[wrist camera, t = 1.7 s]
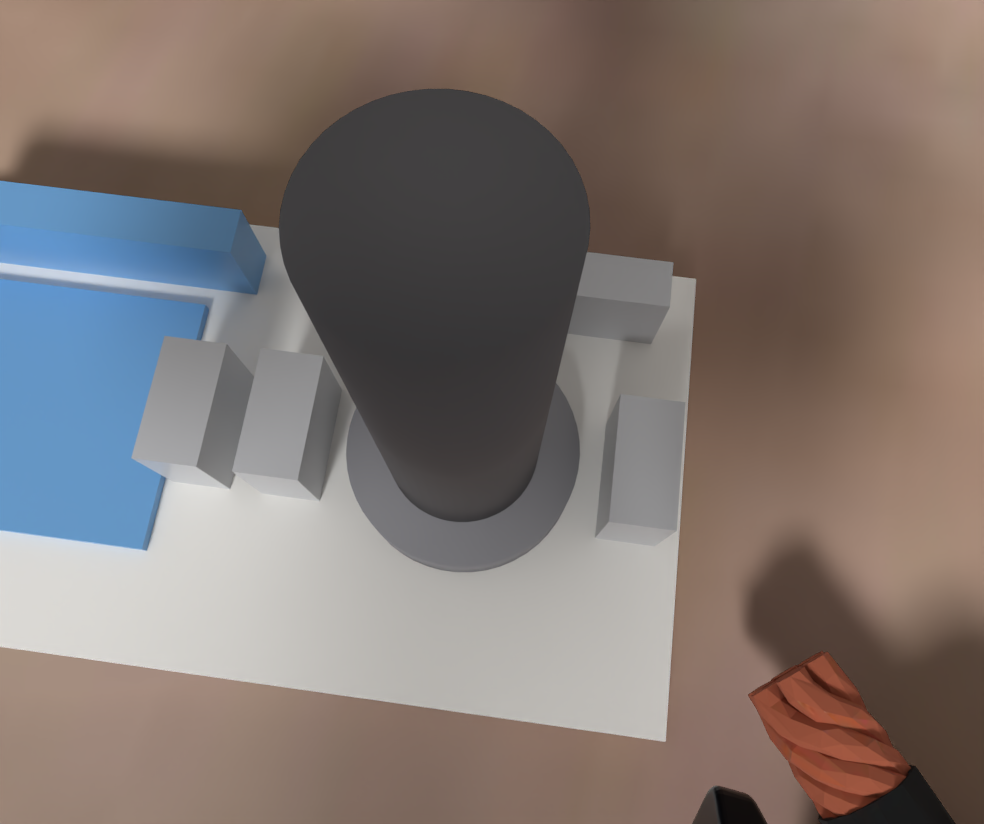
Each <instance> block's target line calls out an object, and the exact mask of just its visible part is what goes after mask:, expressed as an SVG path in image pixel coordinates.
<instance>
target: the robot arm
mask: <svg viewBox="0 0 984 824" xmlns="http://www.w3.org/2000/svg"><path fill="white" fill-rule="evenodd" d="M692 824H767V822H766V820H765V818H764V817H763V815H762V813H761V811H760V809H759V808H758V806H757V804H756V802H755V801H754V800H753V799H752V798H751V797H750V796H749V795H748V794H745V793H743V792H739V791H736V790H732V789H728V788H725V787H721V786H713V787H712V788H711V789H710V790H709V791H708V793H707V794H706V796H705V798H704V800H703V802H702V805H701V807H700V809H699V811H698V813H697V815H696V817H695V819H694V821H693V823H692Z"/></svg>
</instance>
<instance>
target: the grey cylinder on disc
mask: <svg viewBox="0 0 984 824" xmlns="http://www.w3.org/2000/svg"><path fill="white" fill-rule="evenodd" d="M589 235H590V210H589V205H588V200H587V194H586V191H585V188H584V185H583V182H582V179H581V176H580V174H579V172H578V170H577V168H576V166H575V164H574V162H573V160H572V159H571V157H570V156H569V155H568V153H567V152H566V150H565V149H564V147H563V146H562V145H561V144H560V142H559V141H558V140H557V139H556V138H555V137H554V136H553V135H552V134H551V133H550V132H549V131H548V130H547V129H546V128H545V127H543V126H542V125H541V124H540V123H539V122H537V121H536V120H535V119H533V118H532V117H530V116H529V115H527V114H526V113H524V112H523V111H521V110H519V109H517V108H515V107H513V106H511V105H509V104H507V103H505V102H503V101H500V100H497V99H494V98H491V97H489V96H486V95H482V94H477V93H473V92H469V91H461V90H453V89H423V90H413V91H407V92H402V93H398V94H393V95H389V96H386V97H383V98H380V99H377V100H374V101H372V102H370V103H368V104H365V105H363V106H361V107H359V108H357V109H355V110H353V111H352V112H350V113H348V114H347V115H345V116H344V117H342V118H340V119H339V120H338V121H336V122H335V123H334V124H333V125H331V126H330V127H329V128H328V129H326V130H325V131H324V132H323V133H322V134H321V135H320V136H319V137H318V138H317V139H316V140H315V141H314V142H313V143H312V144H311V146H310V147H309V148H308V150H307V151H306V152H305V154H304V155H303V156H302V158H301V159H300V161H299V162H298V164H297V166H296V168H295V169H294V171H293V173H292V175H291V177H290V180H289V182H288V185H287V187H286V190H285V193H284V197H283V201H282V205H281V209H280V220H279V238H280V248H281V253H282V258H283V263H284V266H285V268H286V271H287V274H288V276H289V279H290V282H291V283H292V285H293V287H294V289H295V291H296V293H297V295H298V297H299V299H300V301H301V303H302V304H303V306H304V308H305V310H306V312H307V314H308V316H309V318H310V320H311V322H312V324H313V325H314V327H315V329H316V331H317V333H318V335H319V337H320V339H321V341H322V343H323V344H324V346H325V348H326V350H327V352H328V354H329V356H330V358H331V360H332V362H333V364H334V365H335V367H336V369H337V371H338V373H339V375H340V377H341V379H342V381H343V383H344V385H345V386H346V388H347V390H348V392H349V394H350V396H351V398H352V400H353V402H354V404H355V406H356V409H355V411H354V414H353V417H352V420H351V423H350V426H349V431H348V437H347V447H346V460H347V471H348V475H349V480H350V484H351V487H352V490H353V492H354V495H355V498H356V500H357V502H358V504H359V505H360V507H361V509H362V511H363V513H364V514H365V515H366V517H367V518H368V520H369V521H370V522H371V524H372V525H373V526H374V527H375V528H376V530H377V531H378V532H379V533H380V534H381V535H382V536H383V537H384V538H385V539H386V540H387V541H388V543H389V544H390V545H392V546H393V547H394V548H396V549H397V550H398V551H399V552H401V553H402V554H404V555H405V556H407V557H409V558H410V559H412V560H414V561H416V562H418V563H421V564H423V565H425V566H428V567H432V568H435V569H439V570H443V571H451V572H477V571H484V570H489V569H493V568H496V567H500V566H502V565H505V564H507V563H510V562H512V561H514V560H516V559H518V558H519V557H521V556H523V555H524V554H526V553H528V552H529V551H530V550H531V549H533V548H534V547H535V546H537V545H538V544H539V543H540V542H541V541H542V540H543V539H544V538H545V537H546V536H547V535H548V534H549V532H550V531H551V530H552V528H553V527H554V526H555V524H556V523H557V521H558V519H559V518H560V516H561V514H562V512H563V510H564V508H565V506H566V504H567V502H568V500H569V498H570V496H571V493H572V490H573V488H574V485H575V482H576V478H577V474H578V469H579V459H580V442H579V435H578V429H577V424H576V421H575V418H574V414H573V411H572V409H571V407H570V405H569V403H568V401H567V398H566V397H565V395H564V394H563V392H562V391H561V389H560V387H559V386H558V385H557V383H556V380H557V376H558V372H559V367H560V363H561V359H562V355H563V351H564V346H565V342H566V338H567V334H568V330H569V325H570V321H571V317H572V313H573V309H574V304H575V300H576V296H577V292H578V288H579V283H580V279H581V275H582V271H583V267H584V262H585V258H586V254H587V250H588V244H589Z"/></svg>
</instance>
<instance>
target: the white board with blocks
mask: <svg viewBox="0 0 984 824" xmlns="http://www.w3.org/2000/svg"><path fill="white" fill-rule="evenodd" d="M672 275H673V262H666V261H658V260H650V259H641V258H633V257H625V256H617V255H608V254H600V253H592V252H587V254H586V258H585V262H584V267H583V271H582V275H581V279H580V283H579V288H578V292H577V296H576V300H575V304H574V309H573V313H572V317H571V321H570V325H569V330H568V334H567V338H566V342H565V346H564V351H563V355H562V359H561V363H560V367H559V372H558V376H557V380H556V383H557V385H558V386H559V387H560V389H561V391H562V392H563V394H564V395H565V397H566V398H567V401H568V403H569V405H570V407H571V409H572V411H573V414H574V418H575V421H576V424H577V429H578V435H579V442H580V459H579V469H578V474H577V478H576V482H575V485H574V488H573V490H572V493H571V496H570V498H569V500H568V502H567V504H566V506H565V508H564V510H563V512H562V514H561V516H560V518H559V519H558V521H557V523H556V524H555V526H554V527H553V528H552V530H551V531H550V532H549V534H548V535H547V536H546V537H545V538H544V539H543V540H542V541H541V542H540V543H539V544H538V545H537V546H535V547H534V548H533V549H531V550H530V551H529V552H528V553H526V554H524V555H523V556H521V557H519V558H518V559H516V560H514V561H512V562H510V563H507V564H505V565H502V566H500V567H496V568H493V569H489V570H484V571H477V572H451V571H443V570H439V569H435V568H432V567H428V566H425V565H423V564H421V563H418V562H416V561H414V560H412V559H410V558H409V557H407V556H405V555H404V554H402V553H401V552H399V551H398V550H397V549H396V548H394V547H393V546H392V545H390V544H389V543H388V541H387V540H386V539H385V538H384V537H383V536H382V535H381V534H380V533H379V532H378V531H377V530H376V528H375V527H374V526H373V525H372V524H371V522H370V521H369V520H368V518H367V517H366V515H365V514H364V513H363V511H362V509H361V507H360V505H359V504H358V502H357V500H356V498H355V495H354V492H353V490H352V487H351V484H350V480H349V475H348V471H347V460H346V447H347V437H348V431H349V426H350V423H351V420H352V417H353V414H354V411H355V409H356V406H355V404H354V402H353V400H352V398H351V396H350V394H349V392H348V390H347V388H346V386H345V385H344V383H343V381H342V379H341V377H340V375H339V373H338V371H337V369H336V367H335V365H334V364H333V362H332V360H331V358H330V356H329V354H328V352H327V350H326V348H325V346H324V344H323V343H322V341H321V339H320V337H319V335H318V333H317V331H316V329H315V327H314V325H313V324H312V322H311V320H310V318H309V316H308V314H307V312H306V310H305V308H304V306H303V304H302V303H301V301H300V299H299V297H298V295H297V293H296V291H295V289H294V287H293V285H292V283H291V282H290V279H289V276H288V274H287V271H286V268H285V266H284V263H283V258H282V253H281V248H280V238H279V228H275V227H266V226H258V225H250V224H249V223H248V221H247V220H246V218H245V216H244V214H243V212H242V210H237V209H229V208H221V207H213V206H204V205H196V204H188V203H180V202H171V201H163V200H155V199H147V198H139V197H130V196H122V195H114V194H106V193H97V192H89V191H81V190H73V189H64V188H56V187H48V186H40V185H31V184H23V183H15V182H7V181H0V647H6V648H13V649H20V650H27V651H34V652H41V653H48V654H55V655H62V656H69V657H76V658H83V659H90V660H97V661H104V662H111V663H118V664H125V665H132V666H139V667H146V668H153V669H160V670H167V671H174V672H181V673H188V674H195V675H202V676H209V677H216V678H223V679H230V680H237V681H244V682H251V683H258V684H265V685H272V686H279V687H286V688H293V689H300V690H307V691H314V692H321V693H328V694H335V695H342V696H349V697H356V698H363V699H370V700H377V701H384V702H391V703H398V704H405V705H412V706H419V707H426V708H433V709H440V710H447V711H454V712H461V713H468V714H475V715H482V716H489V717H496V718H503V719H510V720H517V721H524V722H531V723H538V724H545V725H552V726H559V727H566V728H573V729H580V730H587V731H594V732H601V733H608V734H615V735H622V736H629V737H636V738H643V739H650V740H657V741H664V742H666V728H667V713H668V697H669V682H670V667H671V652H672V637H673V622H674V607H675V592H676V577H677V562H678V547H679V531H680V516H681V501H682V486H683V471H684V456H685V441H686V426H687V411H688V396H689V381H690V365H691V350H692V335H693V320H694V305H695V290H696V279H693V278H685V277H677V276H672Z"/></svg>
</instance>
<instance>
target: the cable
mask: <svg viewBox="0 0 984 824" xmlns="http://www.w3.org/2000/svg"><path fill="white" fill-rule="evenodd" d="M748 696H749V697H750V699H751V701H752V702H753V704H754V706H755V707H756V709H757V711H758V713H759V715H760V718H761V720H762V722H763V724H764V726H765V728H766V731H767V733H768V735H769V737H770V739H771V740H772V742H773V743H774V744H775V746H776V747H777V748H778V749H779V751H780V752H781V753H782V755H783V756H784V757H785V758H786V760H788V762H789V765H790V767H791V769H792V772H793V774H794V777H795V778H796V779H797V781H798V782H799V783H800V785H801V786H802V788H803V789H804V790H805V792H806V793H807V795H808V796H809V797H810V798H811V799H812V800H813V803H814V805H815V807H816V809H817V811H818V813H819V818H818V820H819V821H820V823H821V824H955V823H954V821H953V820H952V818H951V817H950V815H949V814H948V812H947V811H946V810H945V808H944V807H943V805H942V804H941V802H940V801H939V799H938V798H937V797H936V795H935V794H934V792H933V791H932V789H931V788H930V786H929V785H928V784H927V782H926V781H925V779H924V778H923V776H922V775H921V773H920V772H919V770H918V769H917V768H916V766H912V765H908V763H907V762H906V761H905V759H904V758H903V757H902V755H901V754H900V753H899V751H898V750H896V749H894V748H893V746H892V744H891V742H890V739H889V737H888V735H887V732H886V731H885V730H884V729H883V727H882V726H881V725H880V724H879V723H878V722H877V721H876V720H875V719H874V718H873V717H872V716H871V715H870V714H869V713H868V711H867V710H866V707H865V705H864V702H863V700H862V698H861V696H860V694H859V692H858V690H857V688H856V687H855V686H854V684H853V683H852V682H851V681H850V679H849V678H848V677H847V676H846V674H845V673H844V672H843V671H842V669H841V668H840V667H839V666H838V664H837V663H836V662H835V661H834V659H833V658H832V657H831V655H830V654H829V653H828V652H823V651H821V652H819V653H817V654H815V655H813V656H812V657H810V658H808V659H806V660H805V661H803V662H802V663H800V664H799V665H795V666H793V667H791V668H789V669H787V670H786V671H784V672H782V673H781V674H779V675H777V676H776V677H774V678H773V679H772V680H771V681H770V682H768V683H766V684H764V685H762V686H760V687H759V688H757V689H756V690H754V691H753V692H751V693H750V694H748Z"/></svg>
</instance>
